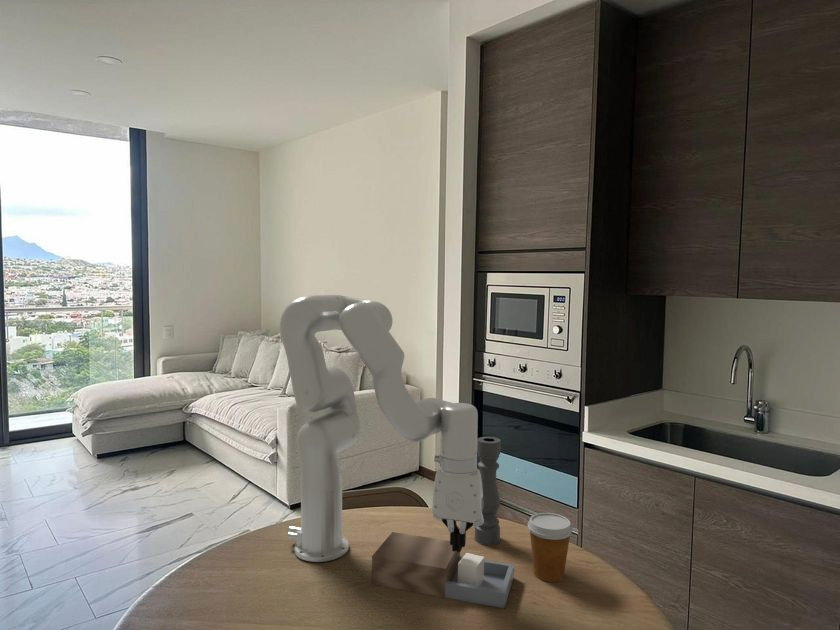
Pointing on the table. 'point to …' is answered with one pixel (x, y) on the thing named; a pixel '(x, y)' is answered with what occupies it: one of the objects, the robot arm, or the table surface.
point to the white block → (471, 569)
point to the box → (485, 586)
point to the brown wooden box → (415, 564)
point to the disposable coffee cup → (549, 545)
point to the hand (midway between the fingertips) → (457, 548)
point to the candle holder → (489, 490)
